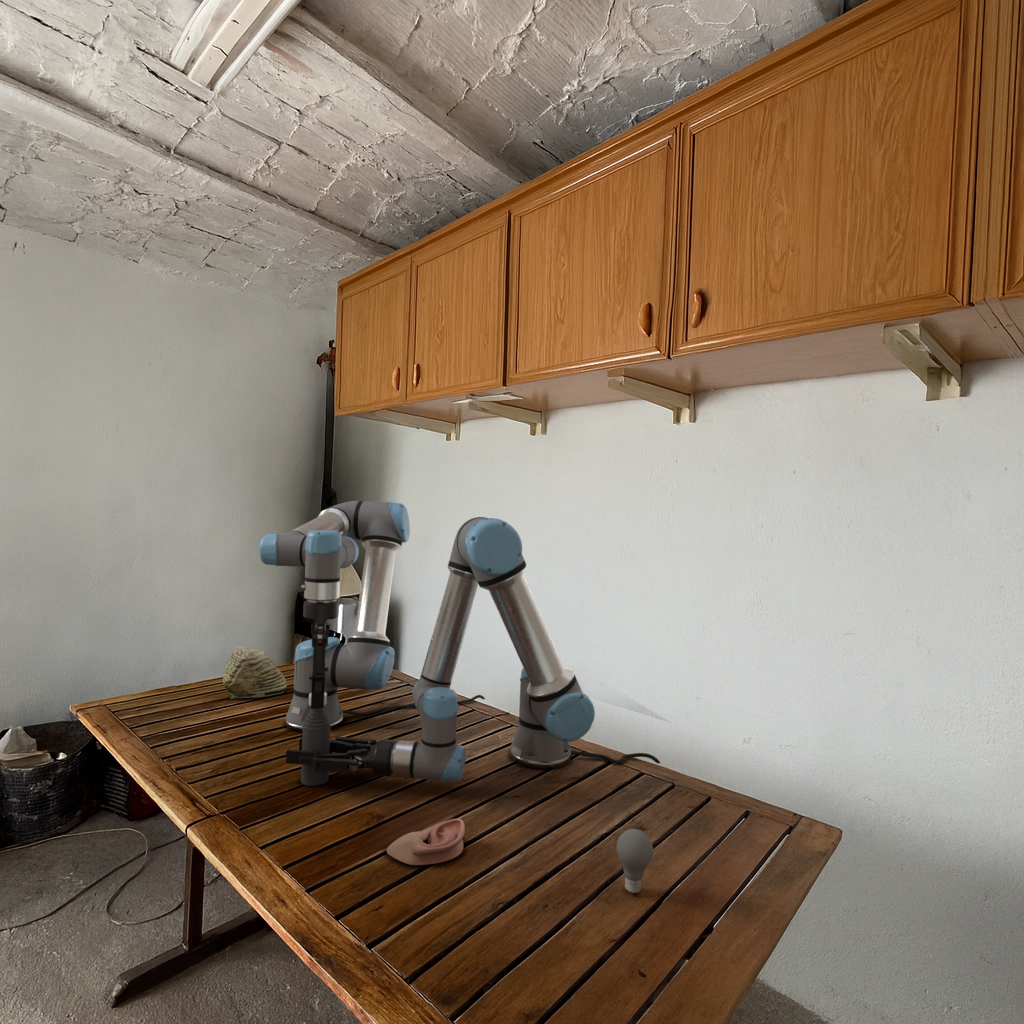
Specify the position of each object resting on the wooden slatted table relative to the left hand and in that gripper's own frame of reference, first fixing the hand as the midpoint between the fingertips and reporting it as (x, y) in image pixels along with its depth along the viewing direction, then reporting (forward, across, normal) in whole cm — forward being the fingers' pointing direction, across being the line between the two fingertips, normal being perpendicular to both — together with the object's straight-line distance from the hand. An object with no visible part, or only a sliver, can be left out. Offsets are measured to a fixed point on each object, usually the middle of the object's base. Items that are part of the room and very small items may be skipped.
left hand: (317, 704), depth 141 cm
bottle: (+17, 0, 0) cm, 17 cm away
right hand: (+11, -2, -5) cm, 12 cm away
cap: (-2, 0, 0) cm, 2 cm away
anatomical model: (+17, +33, +20) cm, 42 cm away
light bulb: (+17, +52, +52) cm, 76 cm away
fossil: (+17, -64, -20) cm, 69 cm away
